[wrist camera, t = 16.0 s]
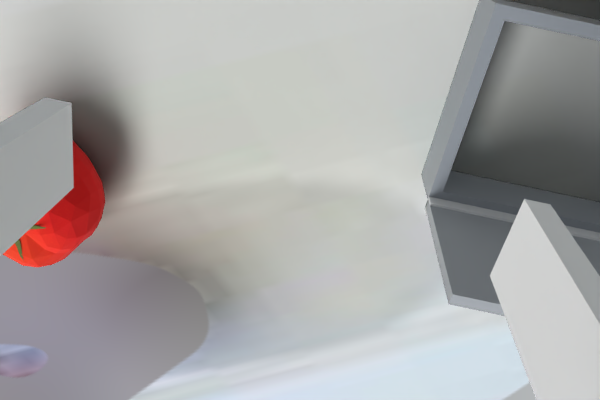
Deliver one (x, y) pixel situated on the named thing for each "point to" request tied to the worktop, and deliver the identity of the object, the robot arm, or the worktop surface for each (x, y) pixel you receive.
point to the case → (482, 191)
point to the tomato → (64, 219)
